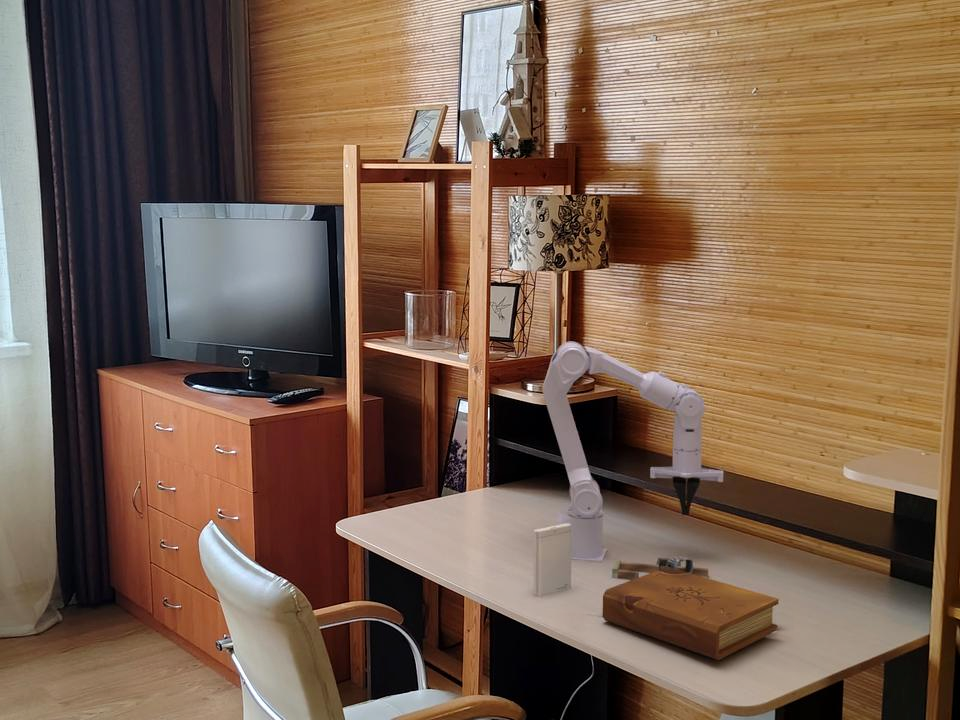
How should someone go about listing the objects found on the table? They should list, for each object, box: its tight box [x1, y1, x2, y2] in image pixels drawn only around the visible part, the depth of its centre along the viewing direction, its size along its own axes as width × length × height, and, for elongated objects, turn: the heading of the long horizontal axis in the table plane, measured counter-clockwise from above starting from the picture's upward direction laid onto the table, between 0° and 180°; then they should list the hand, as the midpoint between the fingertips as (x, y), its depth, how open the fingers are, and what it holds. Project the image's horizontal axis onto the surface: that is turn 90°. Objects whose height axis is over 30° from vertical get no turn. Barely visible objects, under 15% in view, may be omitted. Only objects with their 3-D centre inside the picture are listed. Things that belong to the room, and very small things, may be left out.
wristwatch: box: [666, 556, 695, 574], centre depth 204 cm, size 3×5×5 cm, turn 111°
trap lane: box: [611, 557, 709, 581], centre depth 205 cm, size 18×15×2 cm
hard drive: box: [533, 523, 572, 598], centre depth 196 cm, size 2×8×12 cm, turn 125°
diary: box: [602, 567, 780, 661], centre depth 181 cm, size 23×19×6 cm
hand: (685, 513), depth 216 cm, fingers closed
